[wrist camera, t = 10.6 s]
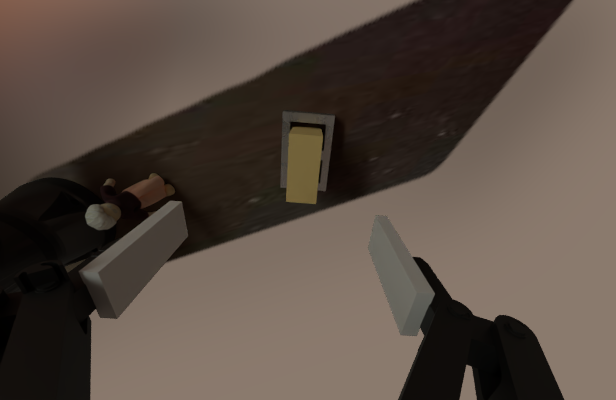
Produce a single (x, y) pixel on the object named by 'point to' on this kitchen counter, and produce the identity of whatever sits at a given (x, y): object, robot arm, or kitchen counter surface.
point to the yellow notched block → (303, 164)
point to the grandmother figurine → (127, 202)
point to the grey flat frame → (326, 149)
